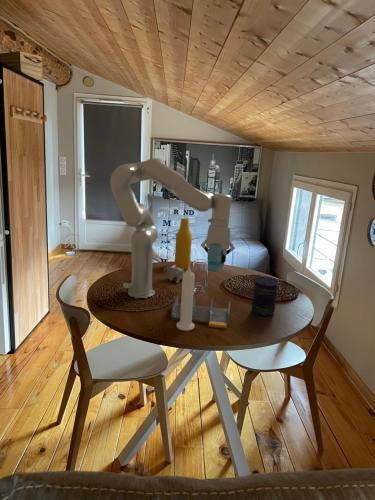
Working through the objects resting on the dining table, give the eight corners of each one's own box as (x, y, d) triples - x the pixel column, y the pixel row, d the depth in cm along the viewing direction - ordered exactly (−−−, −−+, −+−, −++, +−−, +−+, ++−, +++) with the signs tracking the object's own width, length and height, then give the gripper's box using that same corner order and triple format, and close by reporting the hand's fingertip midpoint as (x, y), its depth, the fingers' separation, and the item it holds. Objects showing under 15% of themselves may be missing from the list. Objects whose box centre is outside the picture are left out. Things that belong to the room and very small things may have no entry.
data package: (216, 273, 155) (219, 246, 151) (206, 271, 156) (209, 245, 153) (224, 266, 166) (226, 240, 162) (214, 264, 167) (217, 239, 164)
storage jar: (255, 306, 163) (259, 275, 159) (276, 312, 159) (281, 280, 154) (247, 314, 155) (251, 281, 151) (269, 320, 150) (274, 287, 146)
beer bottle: (192, 268, 210) (196, 219, 202) (179, 270, 206) (181, 220, 198) (185, 263, 218) (187, 216, 210) (171, 265, 213) (174, 217, 206)
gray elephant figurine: (182, 284, 185) (184, 270, 183) (159, 280, 187) (161, 266, 185) (185, 279, 194) (187, 265, 192) (164, 275, 195) (165, 261, 193)
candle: (176, 322, 144) (179, 262, 137) (193, 322, 144) (197, 263, 138) (176, 330, 137) (180, 268, 130) (195, 331, 138) (199, 269, 131)
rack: (169, 321, 144) (170, 310, 142) (176, 305, 159) (177, 294, 158) (228, 328, 141) (229, 317, 140) (229, 311, 157) (230, 300, 155)
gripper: (199, 222, 153) (196, 263, 158) (239, 226, 151) (235, 267, 155) (201, 219, 160) (198, 258, 165) (239, 223, 158) (235, 262, 163)
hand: (216, 262), depth 160 cm, fingers closed on data package, 5 cm apart
